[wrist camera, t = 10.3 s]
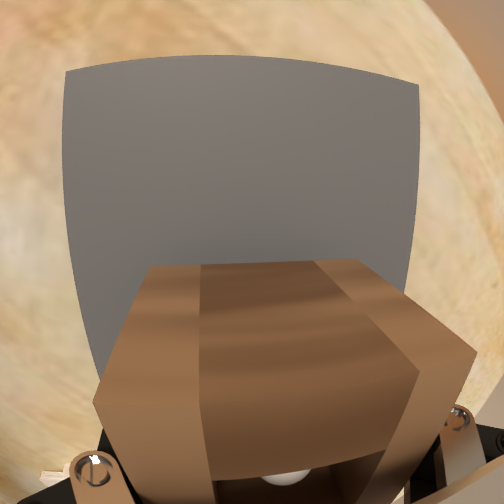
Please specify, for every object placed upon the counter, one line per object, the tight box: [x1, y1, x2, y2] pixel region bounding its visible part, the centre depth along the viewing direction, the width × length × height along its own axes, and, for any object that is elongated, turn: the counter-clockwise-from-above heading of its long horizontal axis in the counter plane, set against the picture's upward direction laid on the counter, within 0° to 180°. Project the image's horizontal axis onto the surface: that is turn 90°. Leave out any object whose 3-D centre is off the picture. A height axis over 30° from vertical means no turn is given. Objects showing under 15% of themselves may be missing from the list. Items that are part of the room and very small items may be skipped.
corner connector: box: [40, 464, 70, 487], centre depth 17 cm, size 8×8×2 cm
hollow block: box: [93, 259, 477, 504], centre depth 8 cm, size 8×7×6 cm
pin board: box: [62, 55, 420, 485], centre depth 10 cm, size 22×14×8 cm, turn 179°
